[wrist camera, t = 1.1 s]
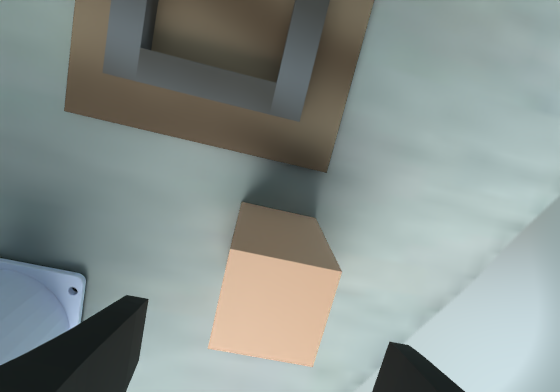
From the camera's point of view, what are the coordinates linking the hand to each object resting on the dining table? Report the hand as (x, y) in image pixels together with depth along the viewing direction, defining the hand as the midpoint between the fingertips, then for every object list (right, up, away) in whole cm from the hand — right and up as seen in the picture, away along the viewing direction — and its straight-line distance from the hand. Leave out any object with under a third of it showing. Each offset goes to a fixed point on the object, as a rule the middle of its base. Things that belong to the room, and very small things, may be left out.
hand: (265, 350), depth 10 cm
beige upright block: (0, +2, +10) cm, 11 cm away
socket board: (-2, +14, +7) cm, 16 cm away
